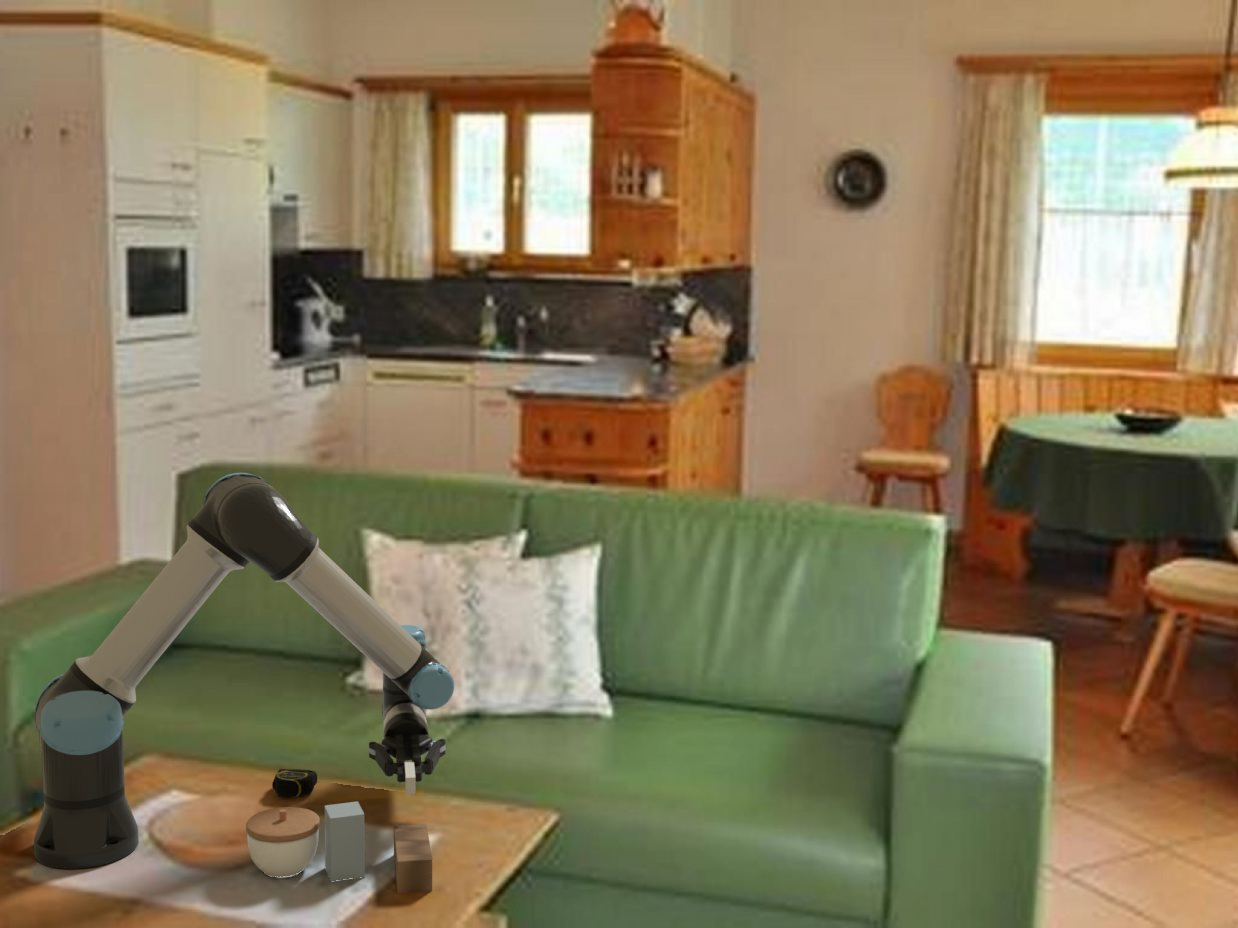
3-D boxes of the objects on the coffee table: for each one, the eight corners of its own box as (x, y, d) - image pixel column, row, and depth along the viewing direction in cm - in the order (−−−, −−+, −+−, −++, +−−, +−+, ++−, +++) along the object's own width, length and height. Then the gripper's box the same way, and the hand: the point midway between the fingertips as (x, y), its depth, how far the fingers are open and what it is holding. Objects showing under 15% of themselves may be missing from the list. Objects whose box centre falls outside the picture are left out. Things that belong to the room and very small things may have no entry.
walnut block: (393, 855, 218) (397, 893, 206) (393, 824, 217) (397, 861, 205) (426, 853, 219) (432, 891, 207) (426, 822, 218) (432, 859, 206)
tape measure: (319, 787, 244) (318, 766, 243) (308, 803, 237) (308, 781, 236) (280, 785, 244) (279, 765, 244) (268, 801, 237) (267, 780, 237)
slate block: (331, 882, 208) (330, 818, 207) (325, 867, 213) (324, 805, 211) (364, 877, 210) (364, 813, 209) (358, 863, 215) (357, 801, 213)
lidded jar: (302, 889, 206) (301, 828, 205) (234, 880, 208) (233, 820, 207) (331, 858, 216) (330, 800, 215) (266, 850, 219) (265, 793, 217)
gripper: (444, 751, 244) (452, 806, 221) (367, 754, 241) (368, 810, 218) (444, 709, 242) (452, 760, 219) (367, 712, 240) (367, 764, 217)
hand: (410, 785), depth 219 cm, fingers closed
